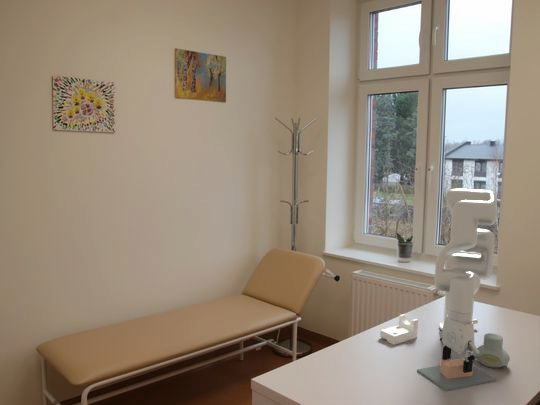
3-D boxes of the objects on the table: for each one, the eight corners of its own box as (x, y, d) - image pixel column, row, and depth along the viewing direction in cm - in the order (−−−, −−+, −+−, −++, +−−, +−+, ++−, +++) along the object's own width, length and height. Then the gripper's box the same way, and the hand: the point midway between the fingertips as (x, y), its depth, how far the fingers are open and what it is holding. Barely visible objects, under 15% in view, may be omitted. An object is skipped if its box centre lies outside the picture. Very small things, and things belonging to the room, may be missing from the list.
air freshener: (509, 363, 173) (512, 335, 171) (507, 372, 166) (510, 344, 164) (476, 355, 178) (478, 329, 177) (472, 364, 171) (474, 336, 170)
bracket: (402, 332, 200) (403, 313, 199) (417, 338, 194) (418, 319, 193) (380, 338, 193) (380, 320, 192) (394, 345, 187) (395, 326, 186)
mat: (464, 362, 173) (464, 360, 173) (496, 380, 160) (496, 379, 160) (417, 371, 166) (417, 369, 166) (445, 391, 153) (446, 389, 153)
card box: (439, 372, 164) (440, 360, 163) (463, 369, 166) (464, 358, 166) (447, 378, 159) (448, 366, 159) (472, 375, 162) (473, 364, 161)
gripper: (432, 307, 167) (429, 356, 169) (470, 326, 151) (466, 379, 153) (450, 305, 169) (447, 352, 172) (489, 323, 153) (485, 375, 156)
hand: (456, 365), depth 162 cm, fingers open, 9 cm apart
